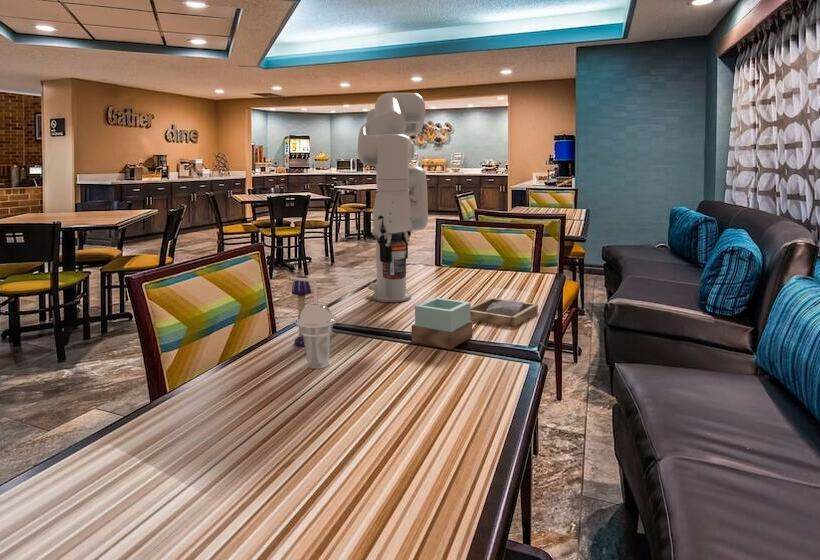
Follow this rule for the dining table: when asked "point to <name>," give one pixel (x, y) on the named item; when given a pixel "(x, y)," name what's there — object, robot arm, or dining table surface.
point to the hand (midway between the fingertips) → (394, 259)
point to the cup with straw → (316, 330)
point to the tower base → (441, 336)
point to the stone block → (505, 308)
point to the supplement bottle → (396, 259)
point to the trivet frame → (515, 320)
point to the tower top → (442, 314)
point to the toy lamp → (300, 303)
